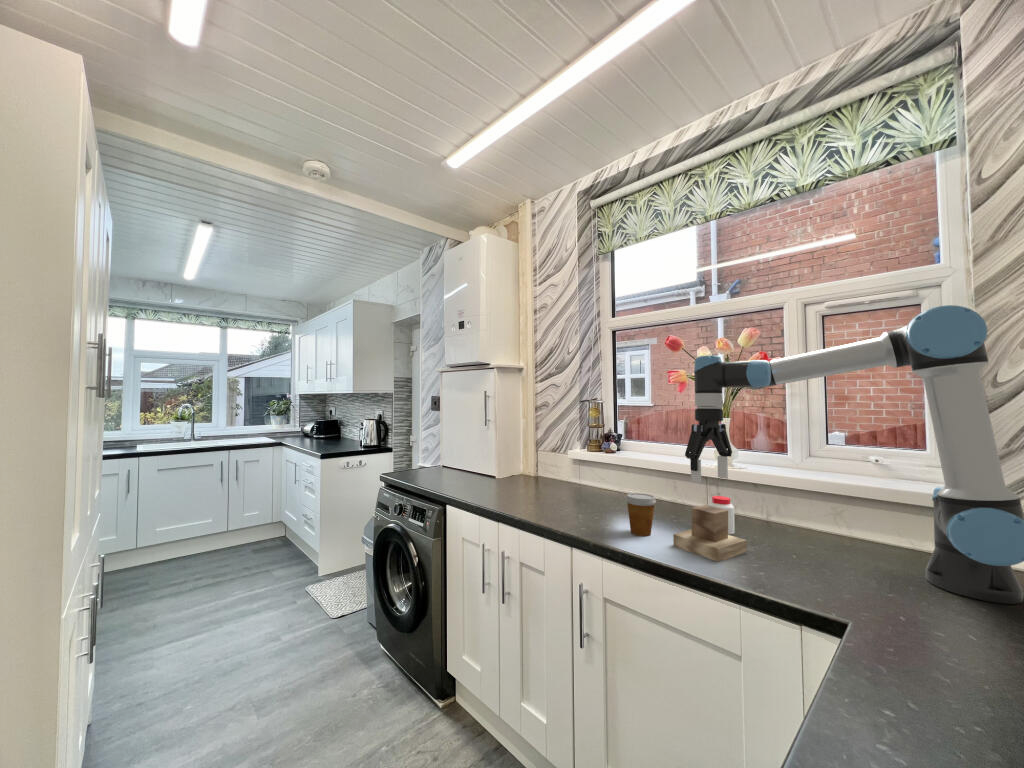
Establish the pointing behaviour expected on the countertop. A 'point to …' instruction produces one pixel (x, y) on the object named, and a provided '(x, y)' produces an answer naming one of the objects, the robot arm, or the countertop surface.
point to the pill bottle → (726, 505)
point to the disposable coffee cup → (640, 513)
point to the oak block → (710, 546)
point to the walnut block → (710, 523)
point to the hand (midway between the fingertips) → (709, 480)
